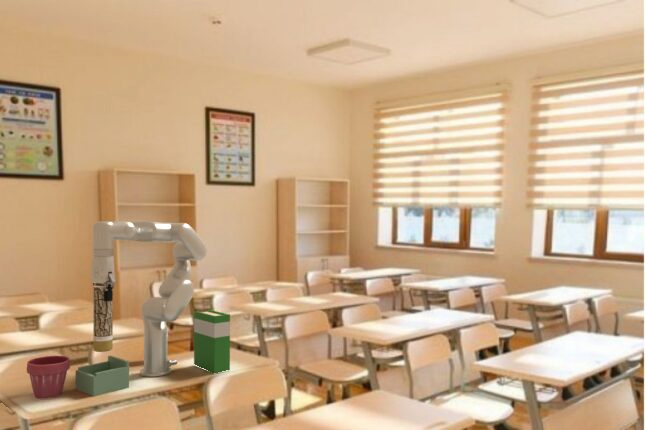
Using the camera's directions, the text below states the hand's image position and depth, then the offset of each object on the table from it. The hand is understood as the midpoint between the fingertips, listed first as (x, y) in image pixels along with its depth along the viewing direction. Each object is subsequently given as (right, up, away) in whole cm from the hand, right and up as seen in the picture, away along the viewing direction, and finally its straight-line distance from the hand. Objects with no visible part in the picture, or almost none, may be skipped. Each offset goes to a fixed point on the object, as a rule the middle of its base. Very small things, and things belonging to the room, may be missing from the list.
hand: (103, 299), depth 206 cm
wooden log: (0, -19, 0) cm, 19 cm away
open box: (0, -34, -1) cm, 34 cm away
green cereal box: (+36, -34, +28) cm, 57 cm away
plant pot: (-16, -34, -9) cm, 38 cm away
